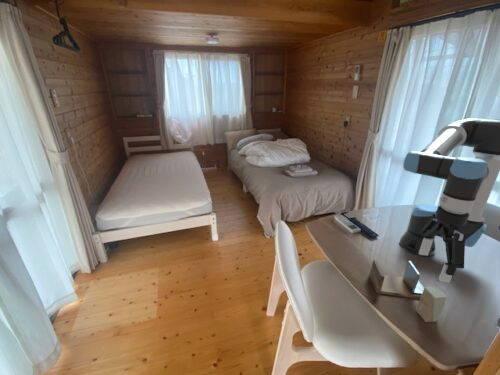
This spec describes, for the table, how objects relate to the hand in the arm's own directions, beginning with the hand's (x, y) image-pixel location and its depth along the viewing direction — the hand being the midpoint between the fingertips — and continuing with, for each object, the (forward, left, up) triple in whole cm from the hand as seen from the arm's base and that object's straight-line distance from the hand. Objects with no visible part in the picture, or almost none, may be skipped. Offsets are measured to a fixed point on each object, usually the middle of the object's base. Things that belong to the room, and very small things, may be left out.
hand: (432, 266), depth 80 cm
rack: (+4, -11, -19) cm, 23 cm away
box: (-2, +2, -20) cm, 20 cm away
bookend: (-4, -11, -18) cm, 22 cm away
